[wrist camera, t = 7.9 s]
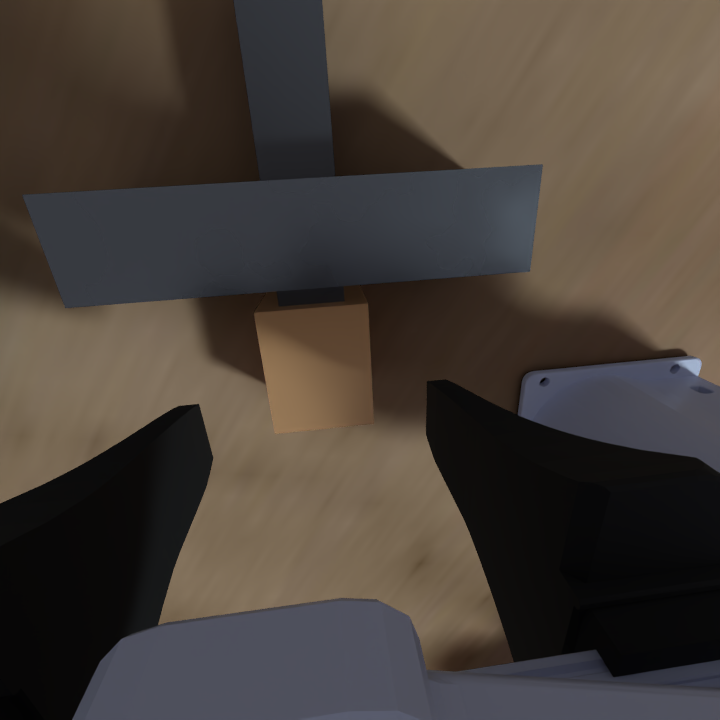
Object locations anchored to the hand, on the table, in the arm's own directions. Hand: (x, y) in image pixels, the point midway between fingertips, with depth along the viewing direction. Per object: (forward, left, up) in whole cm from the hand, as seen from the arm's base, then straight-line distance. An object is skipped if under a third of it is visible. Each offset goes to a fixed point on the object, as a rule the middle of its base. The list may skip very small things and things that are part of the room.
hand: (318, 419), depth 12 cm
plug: (0, -6, -6) cm, 8 cm away
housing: (0, -5, -6) cm, 8 cm away
